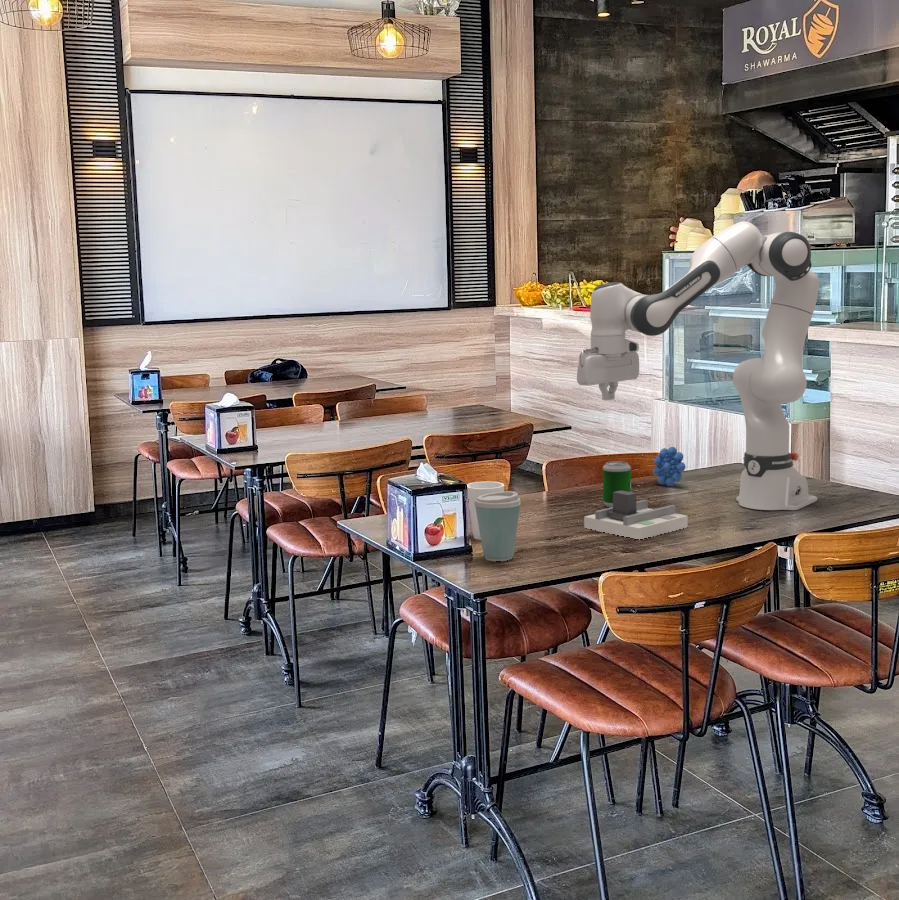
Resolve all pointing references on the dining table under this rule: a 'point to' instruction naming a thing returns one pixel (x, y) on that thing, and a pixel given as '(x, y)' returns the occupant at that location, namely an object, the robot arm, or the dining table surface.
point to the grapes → (669, 466)
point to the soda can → (615, 480)
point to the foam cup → (476, 491)
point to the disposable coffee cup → (498, 524)
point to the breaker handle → (623, 504)
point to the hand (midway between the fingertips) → (608, 399)
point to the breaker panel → (638, 521)
